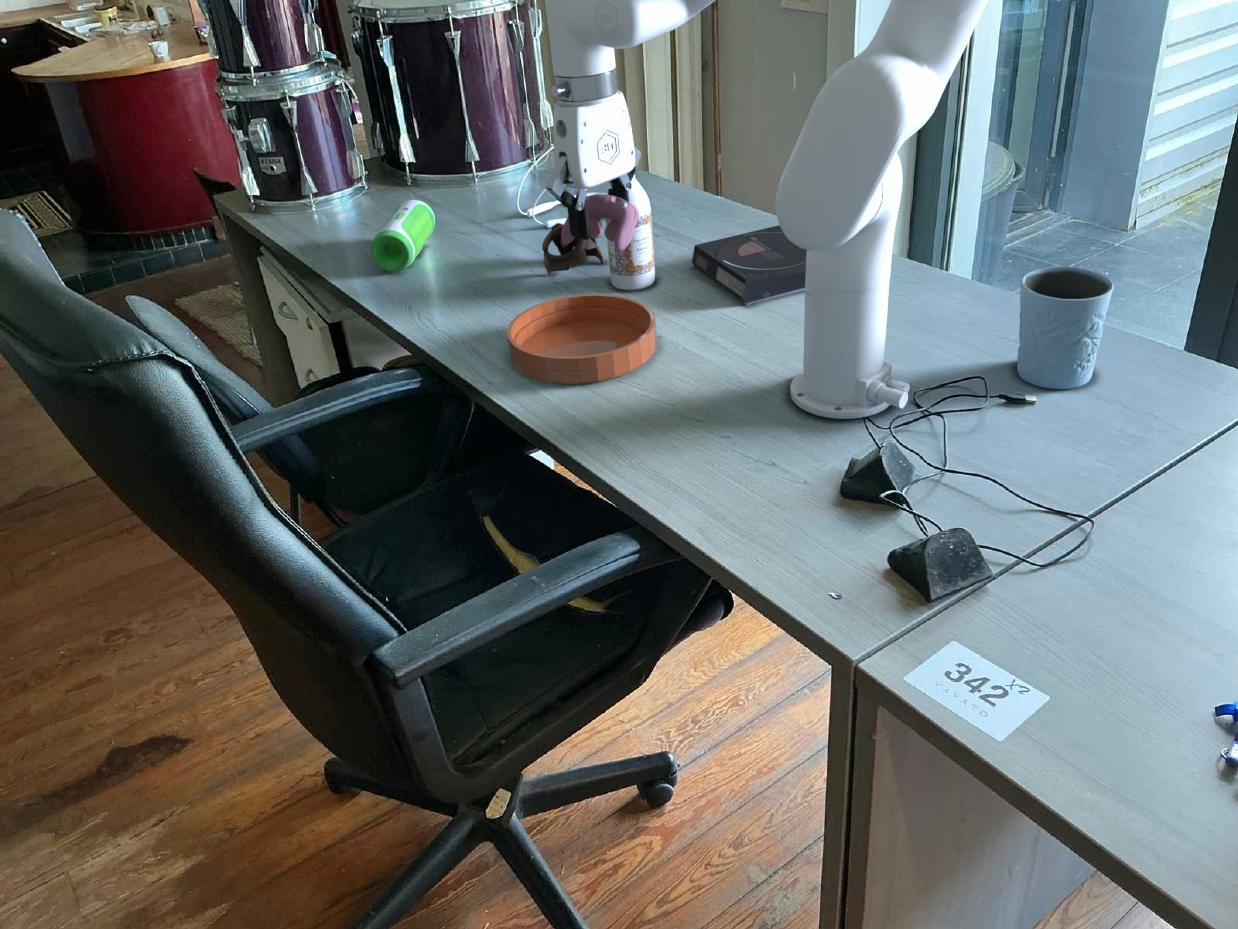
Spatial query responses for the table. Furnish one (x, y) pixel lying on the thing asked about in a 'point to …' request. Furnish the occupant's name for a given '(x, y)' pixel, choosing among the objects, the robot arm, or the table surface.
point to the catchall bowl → (582, 338)
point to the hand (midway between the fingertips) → (600, 227)
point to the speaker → (403, 235)
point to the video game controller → (609, 208)
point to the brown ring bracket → (568, 251)
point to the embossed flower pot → (1061, 325)
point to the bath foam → (634, 248)
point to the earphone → (547, 205)
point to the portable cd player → (753, 264)
